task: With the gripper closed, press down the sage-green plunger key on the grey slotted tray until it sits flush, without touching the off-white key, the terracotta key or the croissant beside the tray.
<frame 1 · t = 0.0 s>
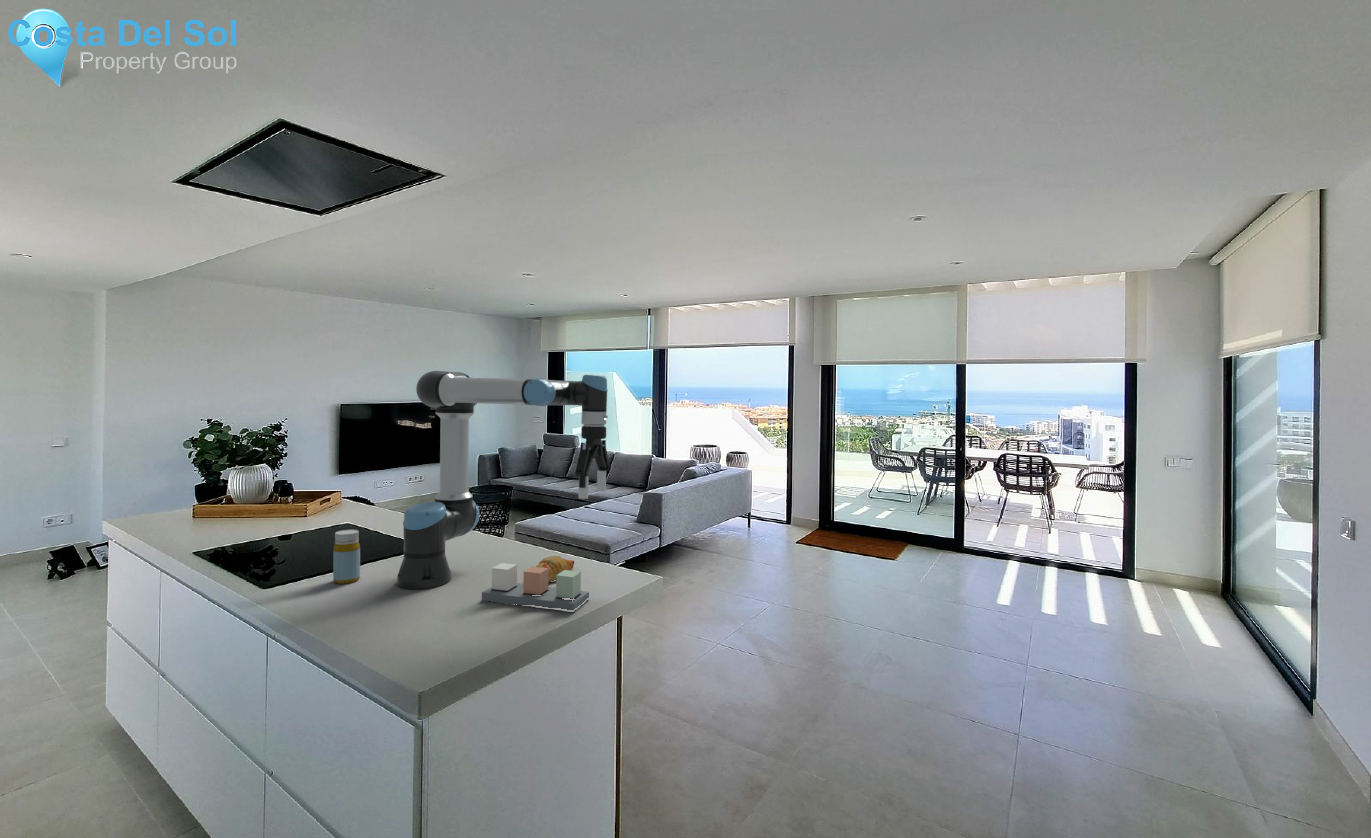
hand: (592, 494, 175), 28 cm above the countertop, fingers open, 13 cm apart
grey slotted tray: (535, 600, 162), on the countertop
bottle: (346, 581, 174), on the countertop
key terracotta: (536, 580, 162), point 6 cm above the countertop, slide at 2.8 cm
key sage: (568, 584, 159), point 6 cm above the countertop, slide at 2.8 cm
key white: (504, 576, 164), point 6 cm above the countertop, slide at 2.8 cm
croissant: (550, 578, 183), on the countertop
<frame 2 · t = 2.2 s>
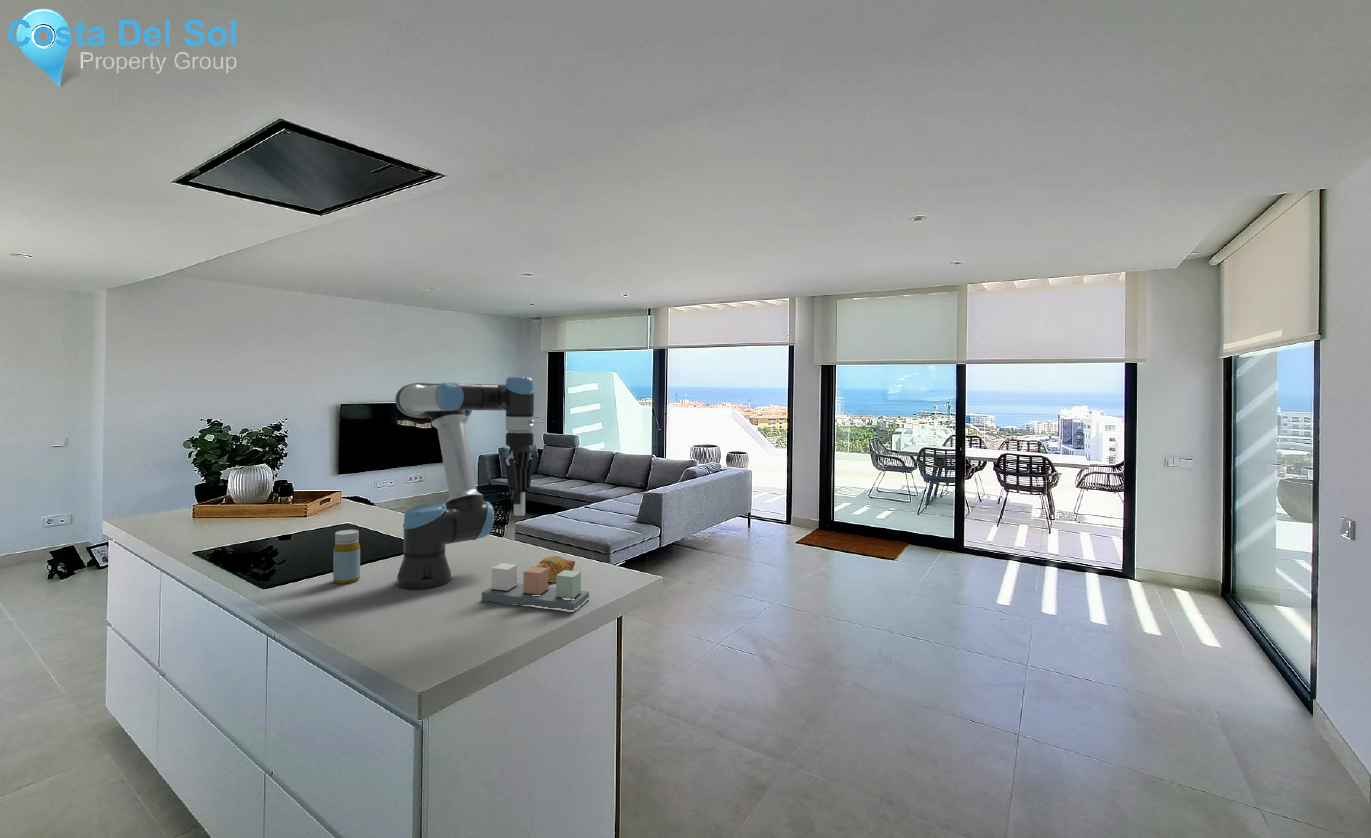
hand: (519, 515, 162), 24 cm above the countertop, fingers closed
nothing on the countertop moved.
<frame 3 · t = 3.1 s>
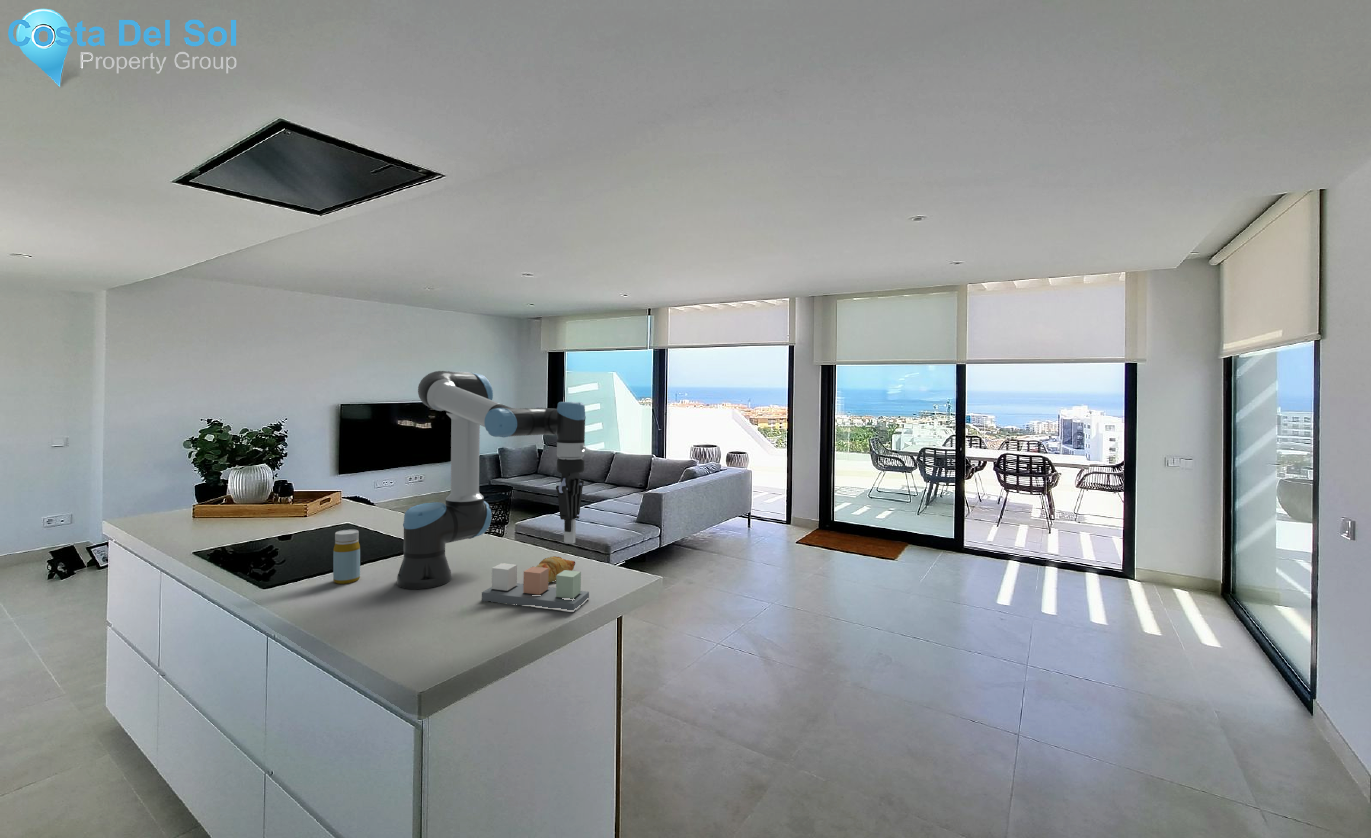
hand: (569, 542, 158), 18 cm above the countertop, fingers closed
nothing on the countertop moved.
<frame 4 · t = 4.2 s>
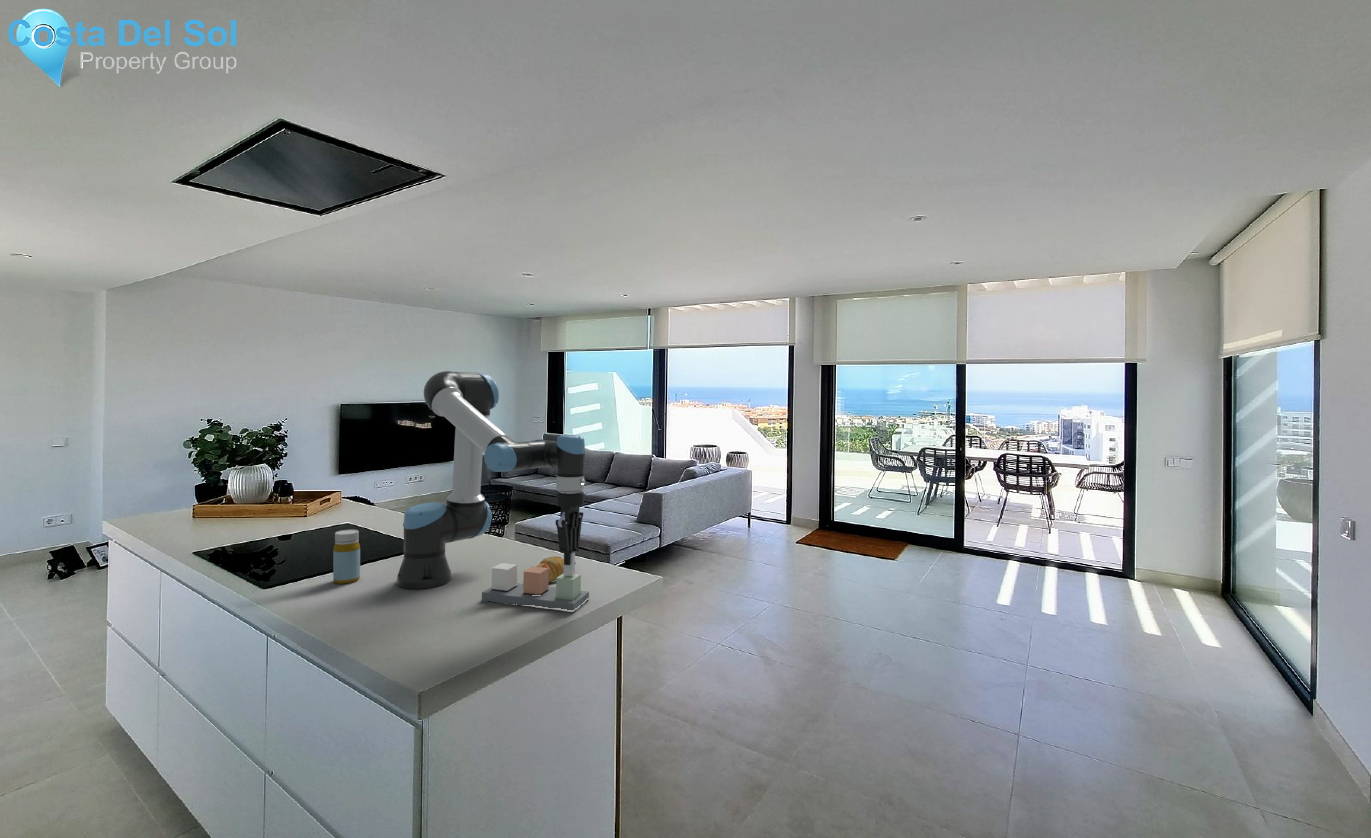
hand: (569, 575, 159), 8 cm above the countertop, fingers closed
key sage: (568, 586, 159), point 5 cm above the countertop, slide at 2.0 cm, touching gripper
everything else where it was.
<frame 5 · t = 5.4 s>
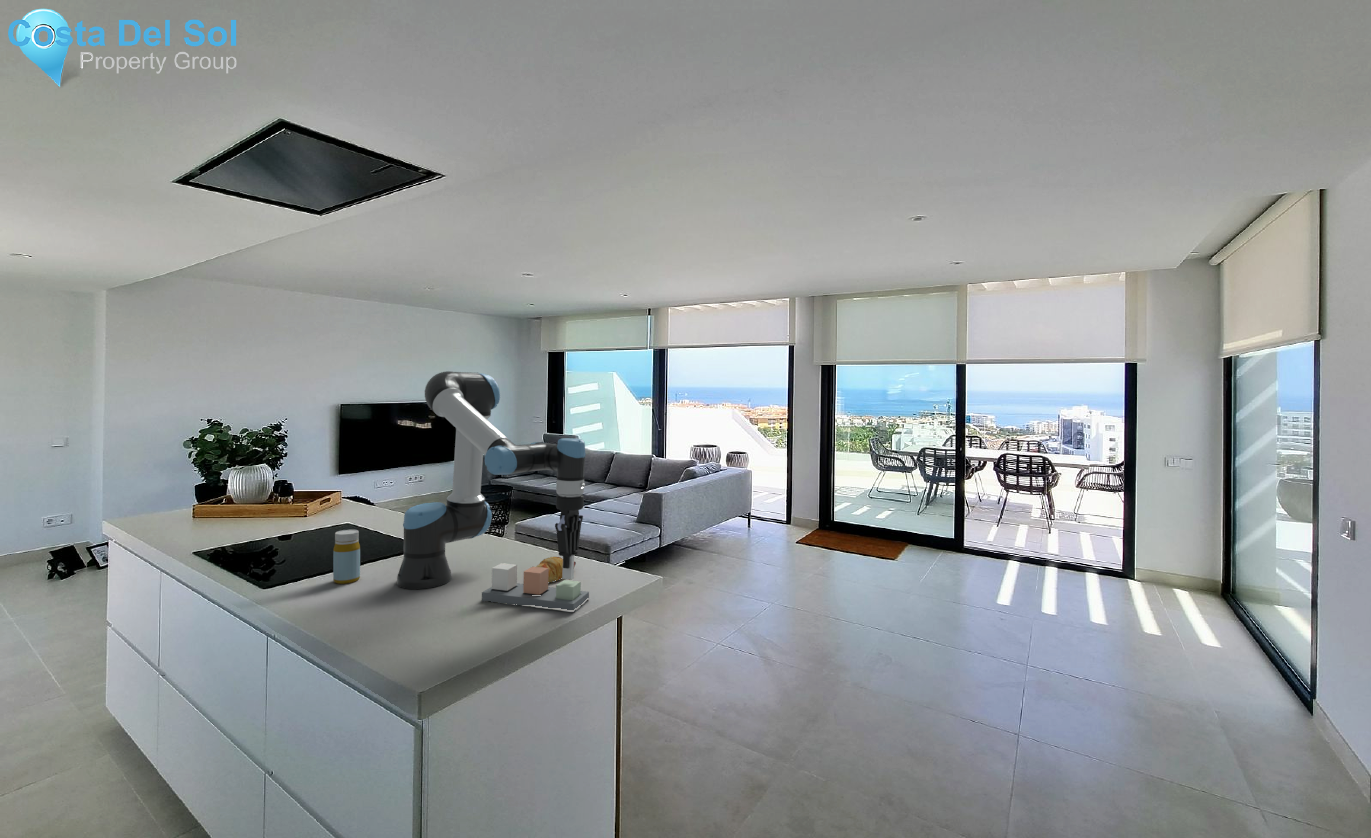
hand: (567, 578, 159), 7 cm above the countertop, fingers closed
key sage: (568, 594, 159), point 3 cm above the countertop, slide at 0.0 cm
everything else where it was.
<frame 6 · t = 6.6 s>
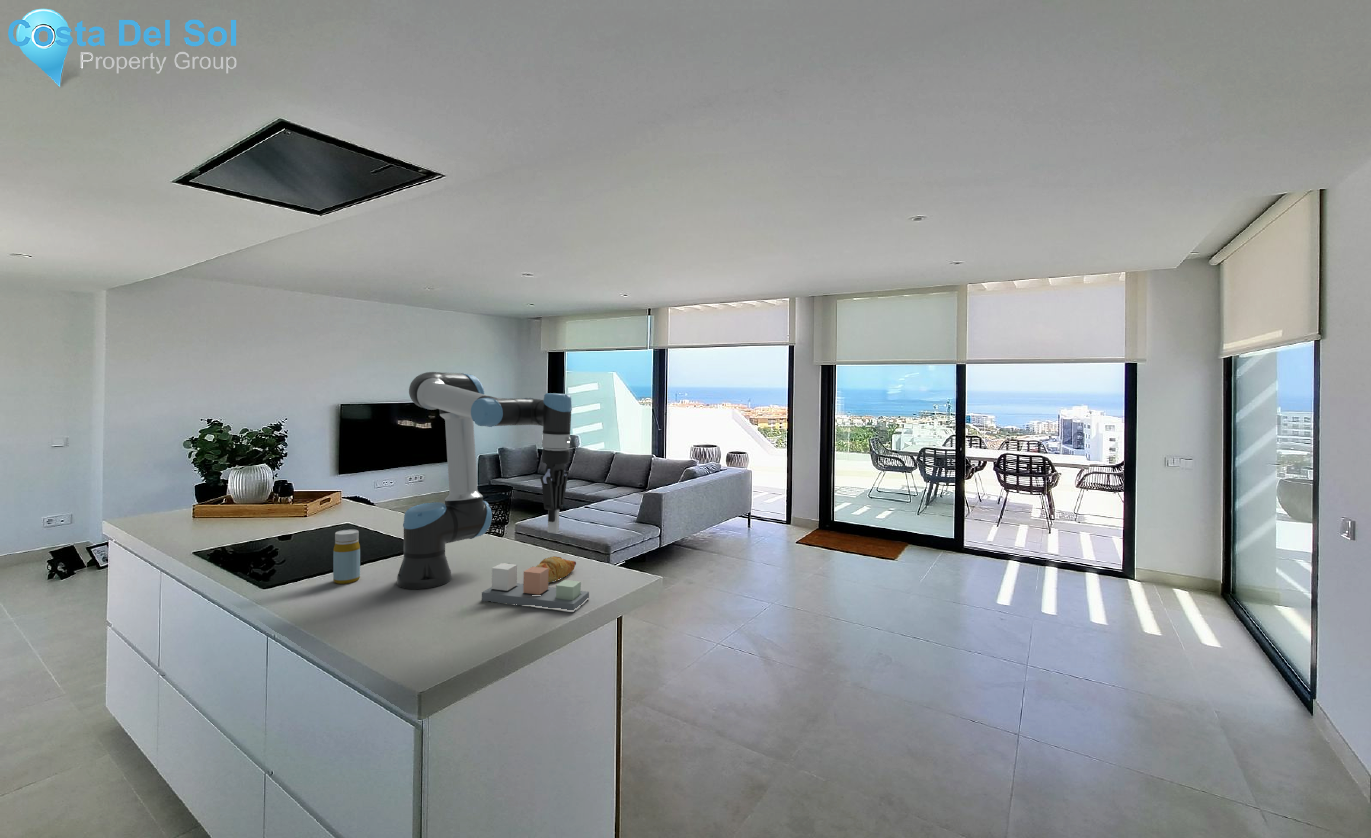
hand: (553, 532, 160), 20 cm above the countertop, fingers closed
nothing on the countertop moved.
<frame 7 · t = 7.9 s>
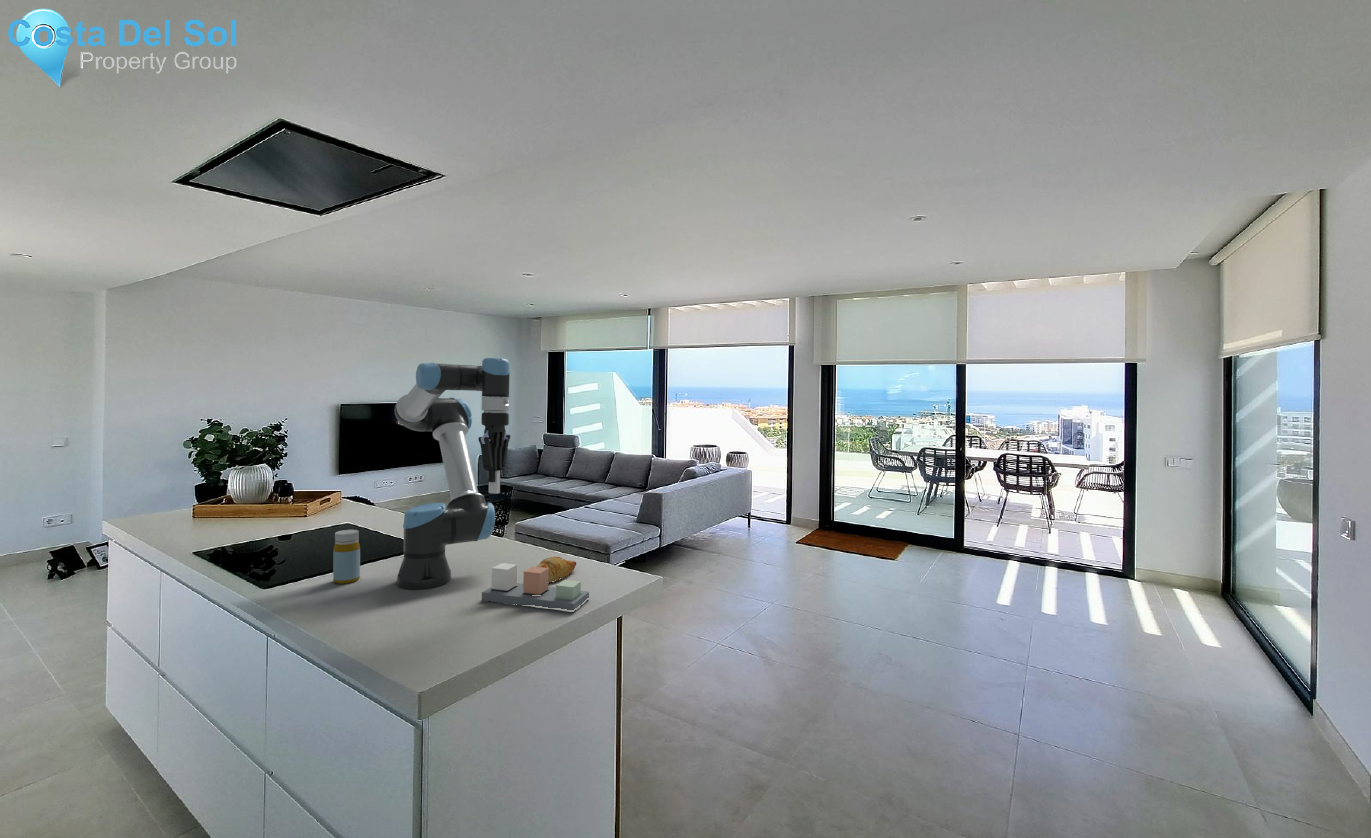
hand: (494, 492, 166), 29 cm above the countertop, fingers closed
nothing on the countertop moved.
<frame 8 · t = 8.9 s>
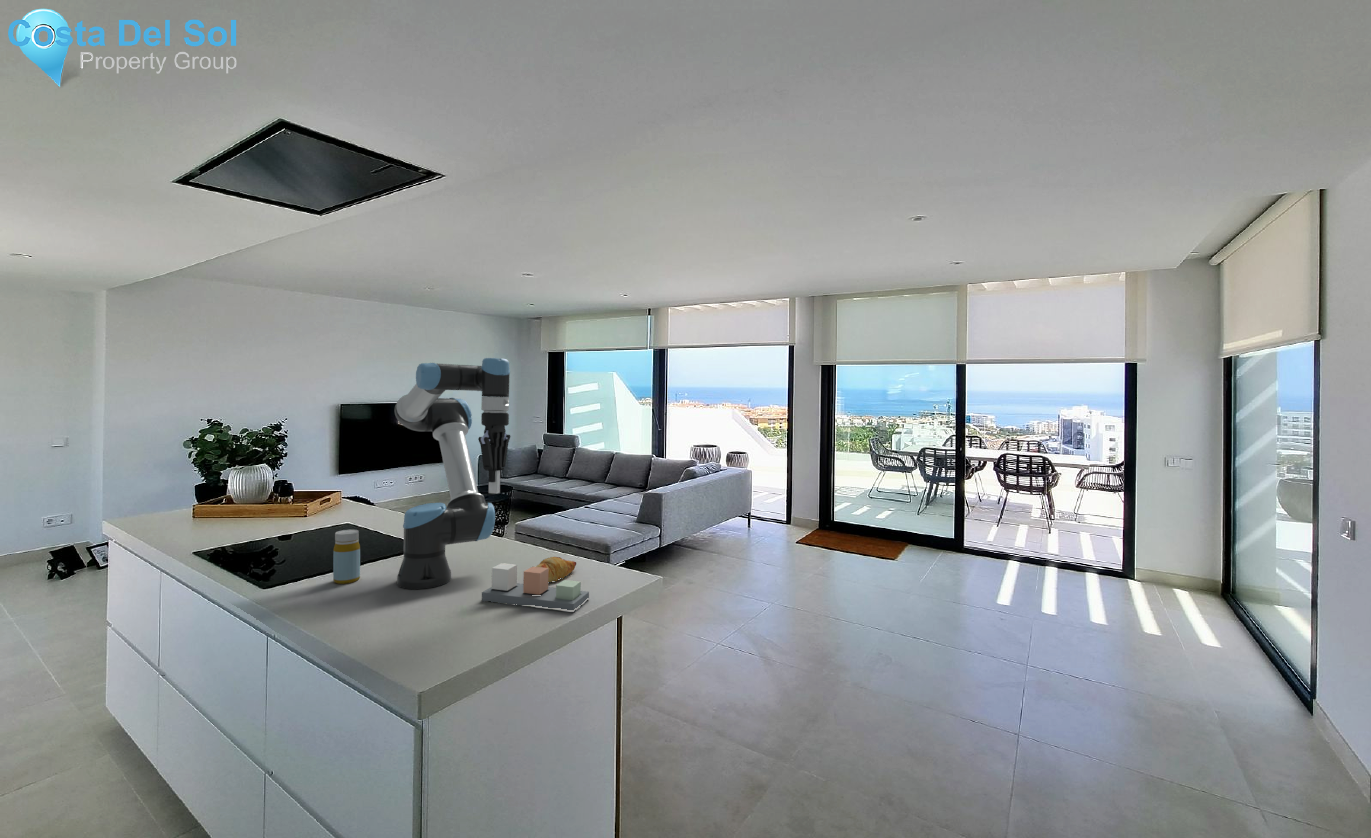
hand: (494, 492, 166), 29 cm above the countertop, fingers closed
nothing on the countertop moved.
at the end: key sage slide at 0.0 cm; key terracotta slide at 2.8 cm; key white slide at 2.8 cm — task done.
